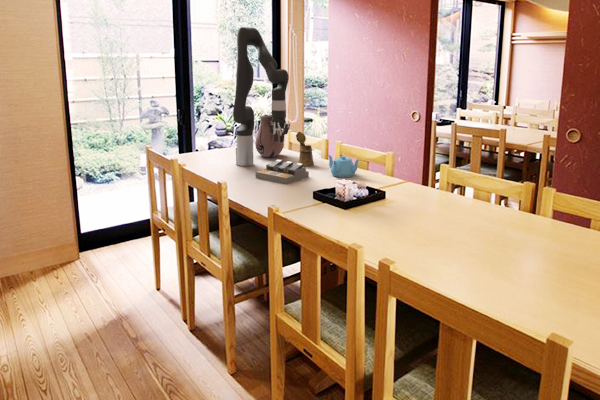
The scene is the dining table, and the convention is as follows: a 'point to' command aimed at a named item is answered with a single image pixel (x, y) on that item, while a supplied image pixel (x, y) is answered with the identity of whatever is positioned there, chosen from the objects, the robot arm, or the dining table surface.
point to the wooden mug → (304, 151)
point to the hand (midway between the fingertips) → (279, 141)
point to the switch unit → (282, 174)
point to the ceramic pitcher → (267, 139)
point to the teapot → (343, 166)
